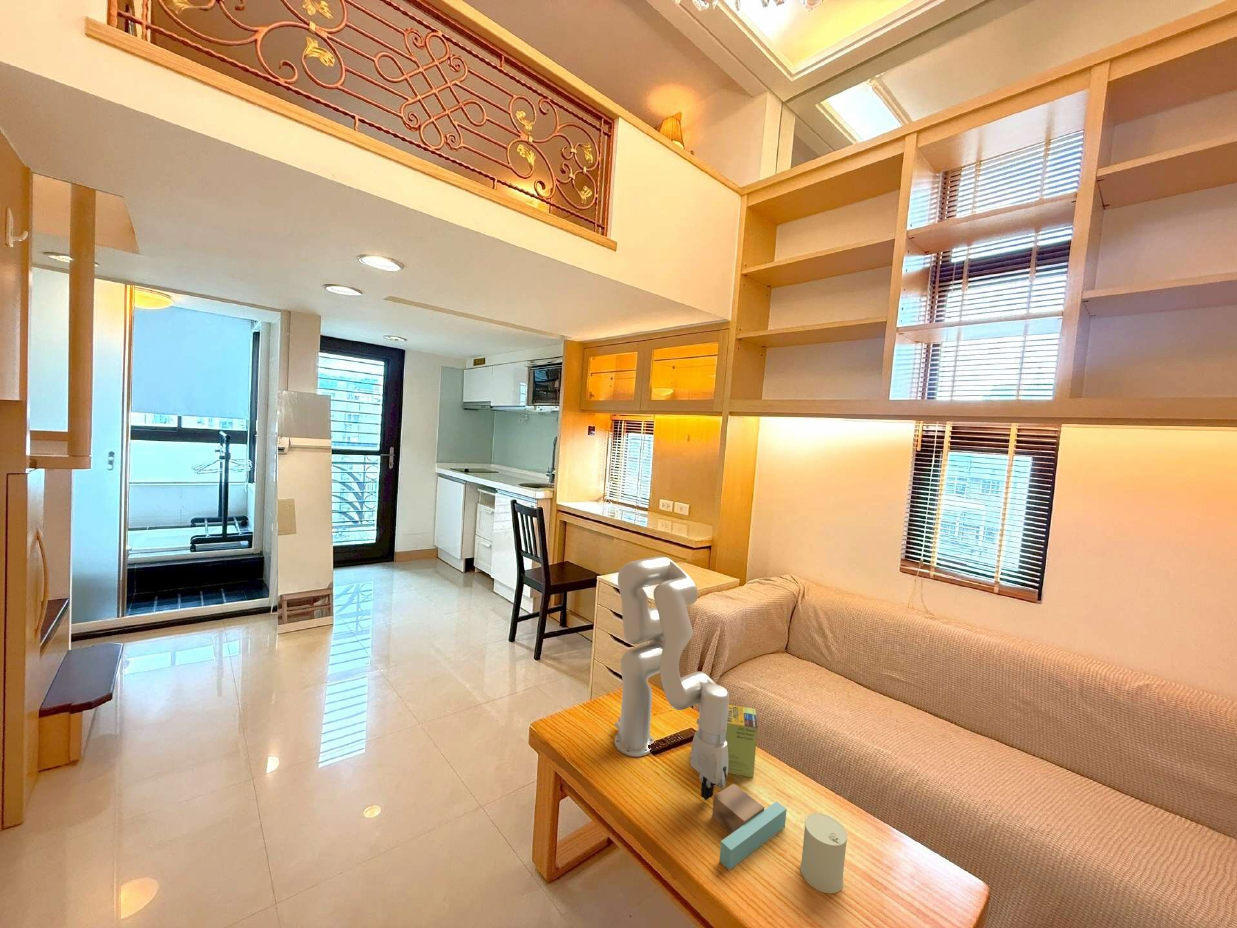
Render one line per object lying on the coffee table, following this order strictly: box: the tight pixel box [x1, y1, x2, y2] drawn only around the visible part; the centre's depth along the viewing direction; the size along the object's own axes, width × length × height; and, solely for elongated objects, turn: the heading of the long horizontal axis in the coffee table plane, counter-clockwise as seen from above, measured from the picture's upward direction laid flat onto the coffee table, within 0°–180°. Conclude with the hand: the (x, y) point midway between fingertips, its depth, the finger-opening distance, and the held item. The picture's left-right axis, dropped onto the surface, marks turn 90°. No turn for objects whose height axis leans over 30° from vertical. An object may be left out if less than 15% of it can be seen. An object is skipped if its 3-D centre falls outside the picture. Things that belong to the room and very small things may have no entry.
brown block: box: [711, 783, 765, 834], centre depth 128 cm, size 10×8×6 cm
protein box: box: [726, 704, 759, 778], centre depth 151 cm, size 10×15×16 cm
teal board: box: [719, 801, 787, 871], centre depth 122 cm, size 3×22×5 cm, turn 128°
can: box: [799, 812, 848, 894], centre depth 114 cm, size 9×9×12 cm
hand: (706, 796), depth 134 cm, fingers closed
